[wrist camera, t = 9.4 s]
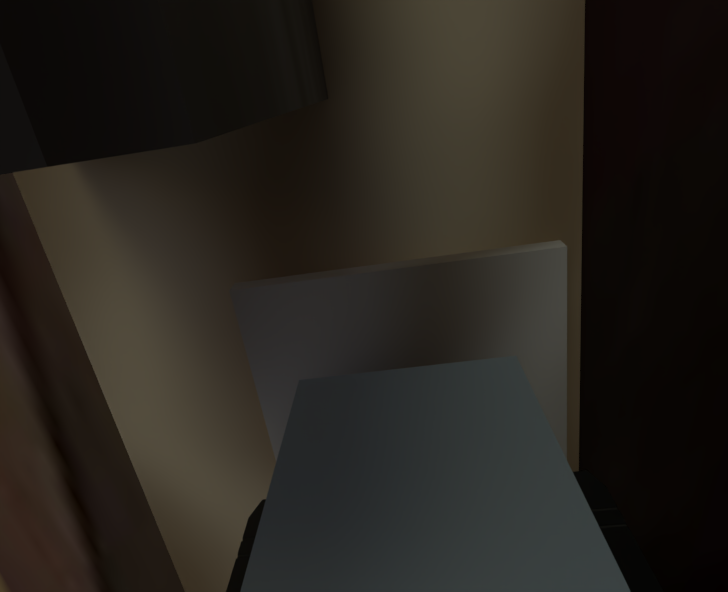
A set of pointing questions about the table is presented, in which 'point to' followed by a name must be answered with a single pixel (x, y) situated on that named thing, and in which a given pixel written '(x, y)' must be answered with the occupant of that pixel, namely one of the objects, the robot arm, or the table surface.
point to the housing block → (426, 490)
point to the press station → (295, 214)
